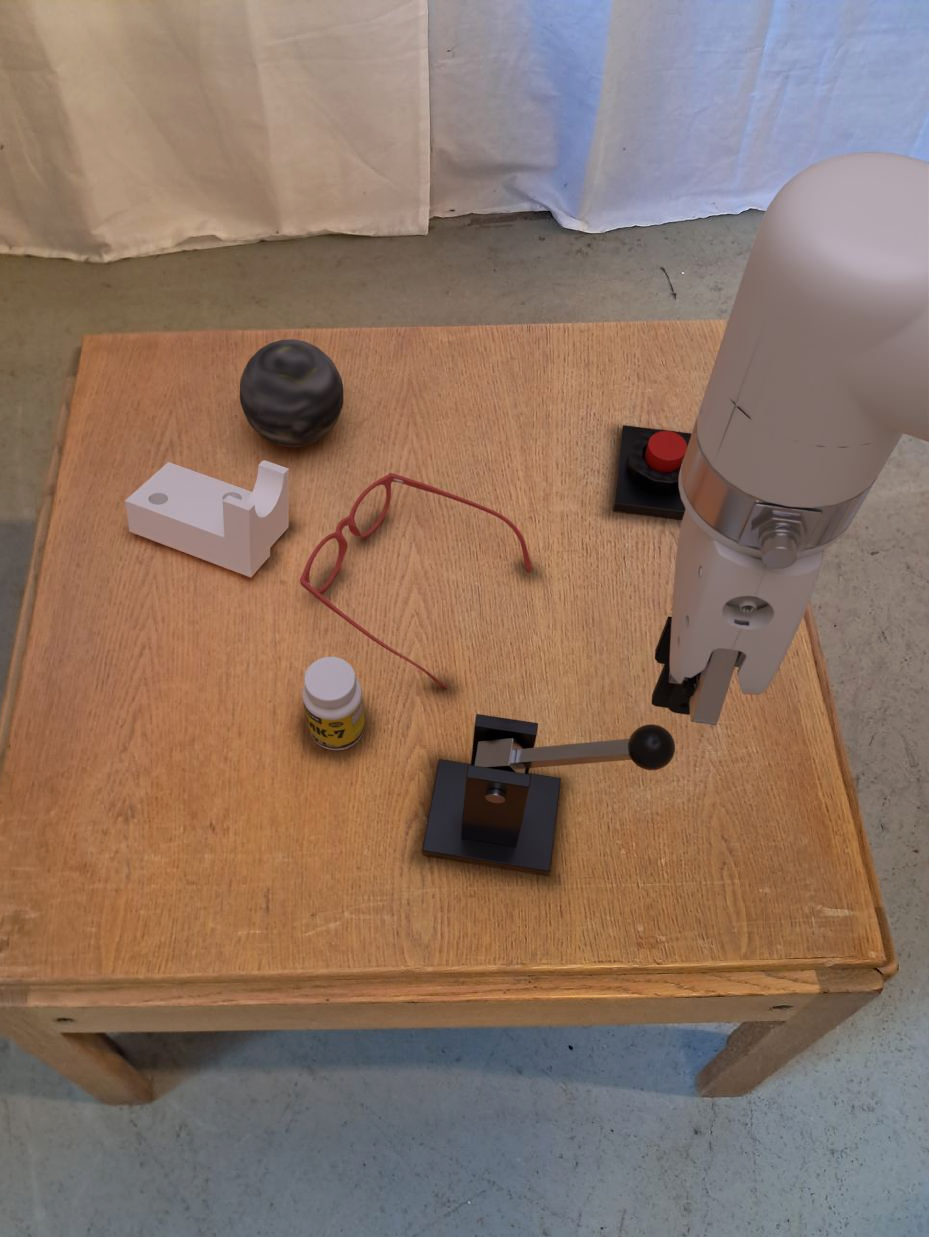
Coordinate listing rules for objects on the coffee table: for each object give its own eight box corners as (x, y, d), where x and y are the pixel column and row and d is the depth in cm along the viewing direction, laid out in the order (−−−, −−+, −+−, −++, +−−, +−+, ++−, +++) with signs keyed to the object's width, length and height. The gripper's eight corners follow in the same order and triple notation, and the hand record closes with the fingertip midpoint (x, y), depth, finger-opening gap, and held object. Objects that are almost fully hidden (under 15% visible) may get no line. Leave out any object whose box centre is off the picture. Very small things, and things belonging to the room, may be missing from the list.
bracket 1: (288, 535, 97) (289, 468, 91) (250, 577, 92) (249, 510, 87) (171, 492, 100) (164, 425, 94) (129, 531, 95) (119, 463, 89)
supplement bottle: (299, 740, 85) (287, 692, 78) (323, 695, 87) (313, 643, 80) (352, 760, 84) (345, 712, 77) (374, 713, 86) (369, 663, 79)
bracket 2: (559, 783, 83) (580, 710, 72) (548, 876, 79) (568, 814, 68) (438, 764, 84) (440, 689, 73) (422, 855, 80) (421, 790, 69)
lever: (682, 735, 67) (667, 713, 65) (680, 776, 66) (665, 755, 64) (495, 753, 74) (476, 734, 72) (489, 790, 73) (470, 771, 71)
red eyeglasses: (393, 490, 98) (392, 454, 94) (538, 561, 94) (544, 528, 89) (287, 616, 91) (280, 584, 87) (438, 701, 87) (439, 671, 82)
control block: (620, 433, 101) (626, 411, 99) (702, 443, 101) (709, 421, 98) (612, 511, 97) (618, 490, 94) (697, 522, 96) (705, 501, 93)
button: (646, 441, 97) (649, 428, 96) (683, 446, 97) (688, 433, 95) (643, 470, 96) (647, 457, 94) (682, 474, 95) (686, 462, 94)
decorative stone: (356, 458, 100) (349, 382, 91) (256, 477, 99) (239, 402, 90) (336, 387, 105) (328, 308, 96) (241, 404, 104) (224, 326, 95)
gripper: (875, 639, 38) (742, 821, 55) (860, 344, 46) (748, 580, 62) (675, 612, 39) (603, 799, 55) (693, 326, 47) (625, 563, 63)
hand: (680, 681), depth 59 cm, fingers closed
